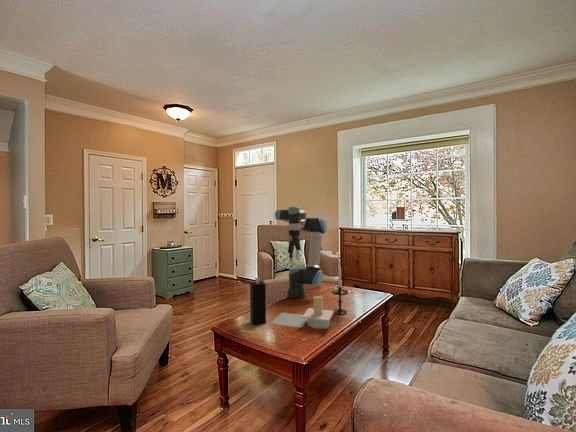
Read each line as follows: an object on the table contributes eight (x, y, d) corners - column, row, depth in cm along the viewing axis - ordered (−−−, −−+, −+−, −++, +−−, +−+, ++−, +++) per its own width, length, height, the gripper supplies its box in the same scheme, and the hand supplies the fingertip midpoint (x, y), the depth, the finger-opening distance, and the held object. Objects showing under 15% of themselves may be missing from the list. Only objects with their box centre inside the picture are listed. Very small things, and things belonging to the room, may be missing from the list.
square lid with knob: (308, 309, 187) (308, 292, 187) (334, 311, 182) (333, 294, 182) (301, 318, 172) (301, 299, 172) (329, 321, 167) (328, 302, 167)
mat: (281, 313, 198) (281, 312, 198) (310, 316, 191) (310, 315, 191) (270, 324, 179) (270, 323, 179) (301, 328, 172) (301, 327, 172)
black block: (250, 321, 184) (249, 277, 183) (262, 320, 186) (261, 275, 186) (253, 326, 176) (252, 279, 176) (266, 324, 179) (265, 278, 178)
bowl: (310, 319, 186) (310, 310, 185) (331, 322, 181) (331, 312, 181) (305, 327, 173) (305, 317, 173) (327, 330, 169) (326, 320, 169)
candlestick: (348, 315, 192) (347, 262, 191) (331, 314, 194) (331, 261, 193) (348, 310, 202) (347, 259, 201) (332, 309, 204) (331, 259, 204)
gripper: (294, 228, 212) (294, 257, 212) (282, 230, 188) (283, 264, 188) (304, 228, 209) (304, 258, 210) (293, 231, 186) (294, 264, 186)
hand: (294, 261), depth 199 cm, fingers open, 13 cm apart
